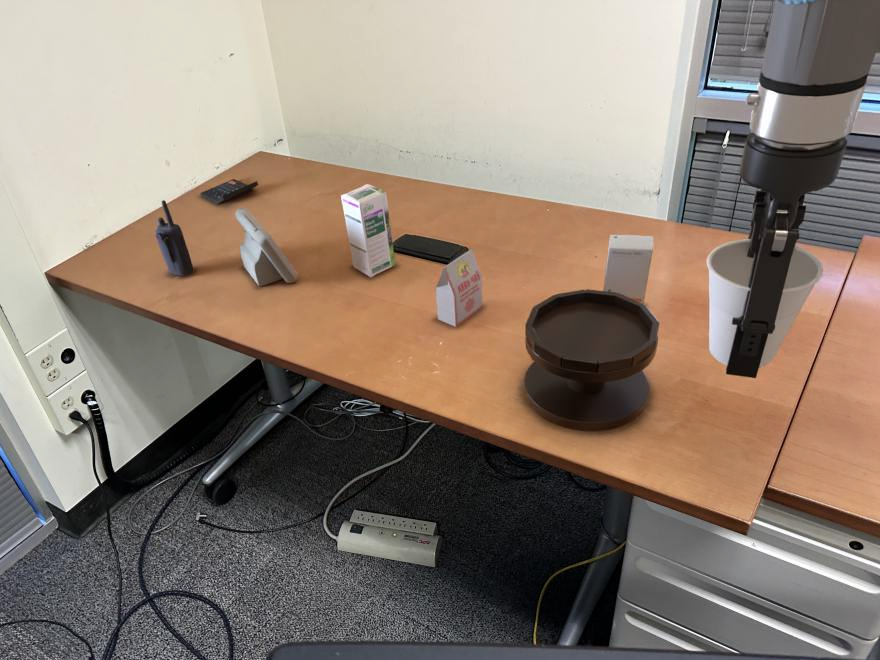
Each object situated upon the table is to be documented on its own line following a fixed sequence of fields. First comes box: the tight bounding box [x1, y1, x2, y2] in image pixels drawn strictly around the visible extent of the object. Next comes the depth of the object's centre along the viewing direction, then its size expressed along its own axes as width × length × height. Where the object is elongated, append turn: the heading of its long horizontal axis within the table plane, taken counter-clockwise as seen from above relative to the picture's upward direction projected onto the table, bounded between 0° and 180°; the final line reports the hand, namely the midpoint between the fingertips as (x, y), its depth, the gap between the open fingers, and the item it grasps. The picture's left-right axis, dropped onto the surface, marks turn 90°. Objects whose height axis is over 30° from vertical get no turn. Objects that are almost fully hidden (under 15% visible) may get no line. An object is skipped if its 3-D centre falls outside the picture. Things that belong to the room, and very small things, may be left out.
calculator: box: [199, 178, 259, 205], centre depth 159 cm, size 9×12×3 cm
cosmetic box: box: [602, 234, 655, 305], centre depth 102 cm, size 6×4×12 cm
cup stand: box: [523, 288, 660, 432], centre depth 89 cm, size 16×16×11 cm
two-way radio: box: [154, 199, 195, 277], centre depth 128 cm, size 6×4×15 cm
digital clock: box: [234, 207, 298, 287], centre depth 126 cm, size 16×9×11 cm, turn 14°
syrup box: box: [340, 183, 396, 278], centre depth 121 cm, size 6×6×14 cm
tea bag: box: [435, 249, 483, 328], centre depth 107 cm, size 4×7×10 cm, turn 134°
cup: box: [706, 238, 824, 369], centre depth 69 cm, size 10×10×11 cm
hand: (742, 347), depth 72 cm, fingers closed on cup, 8 cm apart
